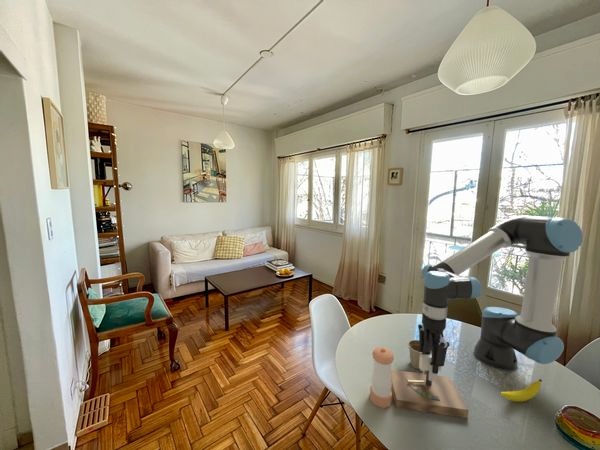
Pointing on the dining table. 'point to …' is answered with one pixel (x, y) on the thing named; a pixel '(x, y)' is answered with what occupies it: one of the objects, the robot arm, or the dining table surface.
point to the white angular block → (424, 369)
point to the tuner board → (427, 394)
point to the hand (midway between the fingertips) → (429, 376)
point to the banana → (523, 392)
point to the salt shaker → (381, 377)
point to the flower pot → (414, 353)
